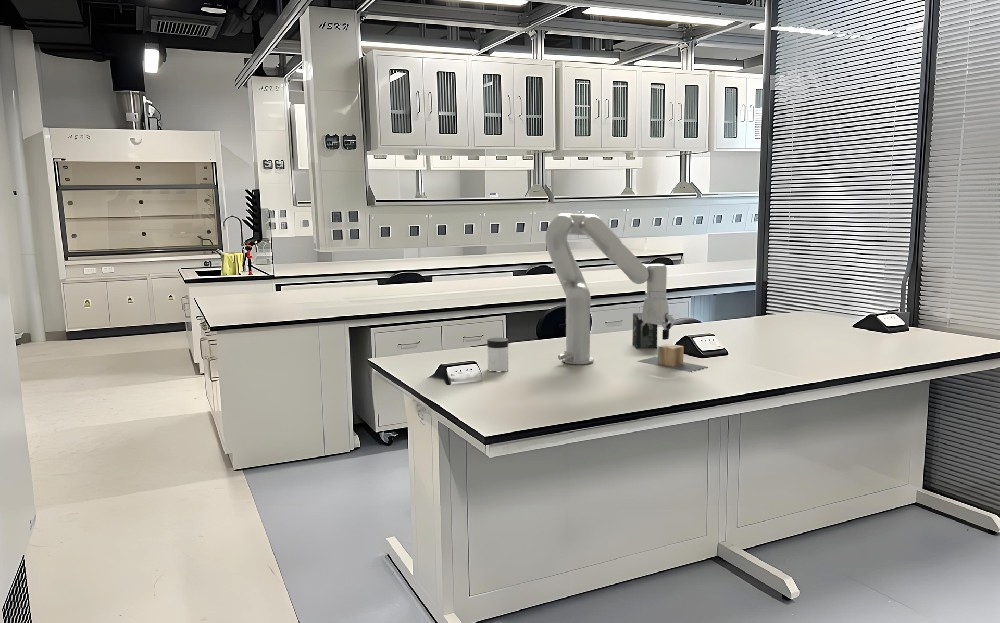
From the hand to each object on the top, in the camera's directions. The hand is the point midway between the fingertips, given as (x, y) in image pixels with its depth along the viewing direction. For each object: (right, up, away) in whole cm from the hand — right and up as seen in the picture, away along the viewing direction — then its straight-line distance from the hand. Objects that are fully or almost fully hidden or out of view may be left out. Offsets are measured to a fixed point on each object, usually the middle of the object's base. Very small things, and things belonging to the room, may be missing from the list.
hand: (655, 337), depth 278 cm
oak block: (+3, -6, -2) cm, 7 cm away
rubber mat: (+5, -11, -5) cm, 13 cm away
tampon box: (+2, -6, +31) cm, 32 cm away
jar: (-63, -12, -9) cm, 65 cm away
